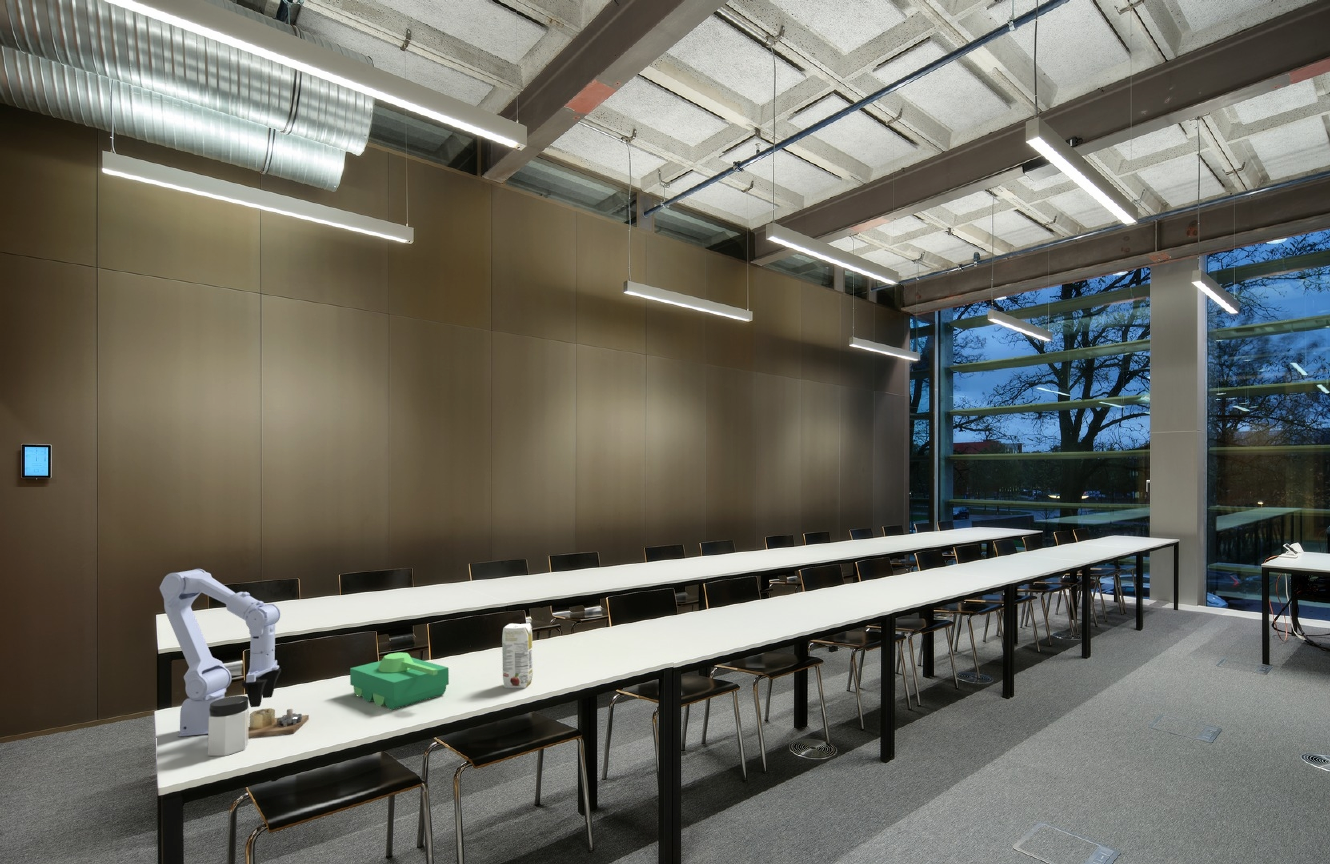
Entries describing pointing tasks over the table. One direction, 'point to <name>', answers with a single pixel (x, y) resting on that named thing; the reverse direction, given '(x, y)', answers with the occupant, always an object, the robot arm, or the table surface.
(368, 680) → the toy tank
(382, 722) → the table surface
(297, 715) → the gear
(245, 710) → the jar
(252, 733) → the gear board
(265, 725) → the gear ring
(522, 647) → the juice carton
